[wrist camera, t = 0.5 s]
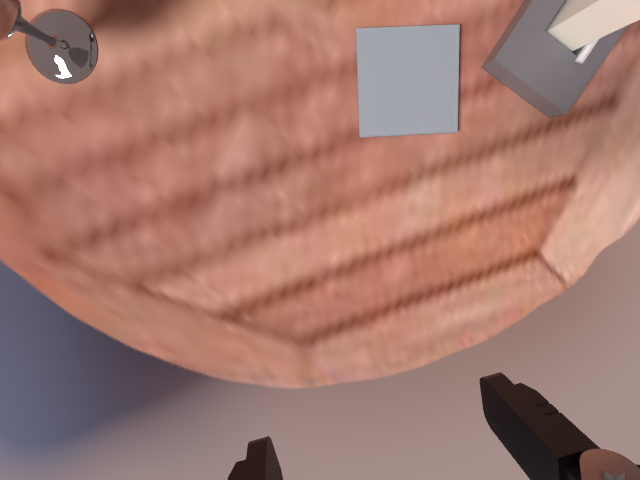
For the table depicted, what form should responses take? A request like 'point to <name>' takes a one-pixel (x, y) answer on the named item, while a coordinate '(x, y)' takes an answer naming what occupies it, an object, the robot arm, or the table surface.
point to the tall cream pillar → (591, 20)
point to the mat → (407, 80)
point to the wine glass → (53, 41)
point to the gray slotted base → (545, 59)
